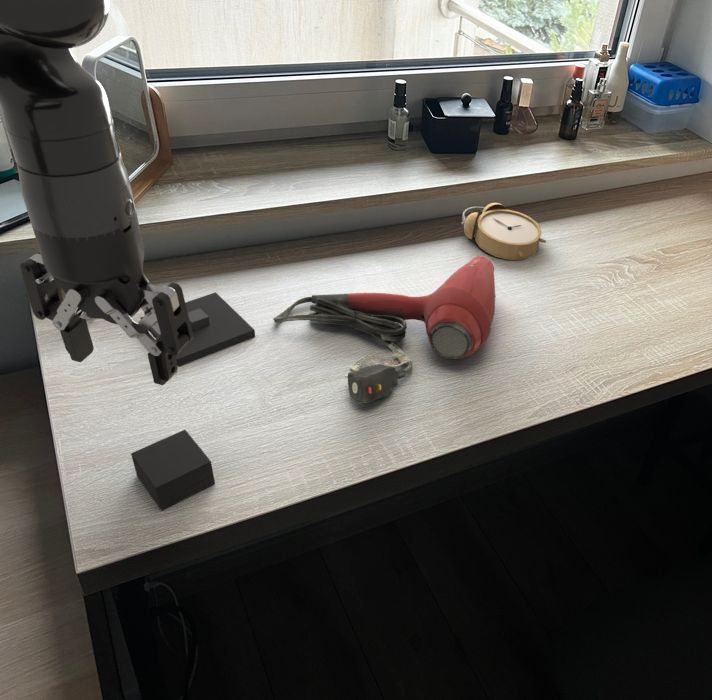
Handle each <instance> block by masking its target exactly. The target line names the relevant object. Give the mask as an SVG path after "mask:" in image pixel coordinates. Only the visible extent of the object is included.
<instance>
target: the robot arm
mask: <svg viewBox="0 0 712 700" xmlns="http://www.w3.org/2000/svg"><path fill="white" fill-rule="evenodd" d="M109 13H110V0H0V112H1V116H2V120H3V124H4V127H5V132H6V135H7V137H8V141H9V144H10V147H11V150H12V153H13V157H14V161H15V164H16V168H17V172H18V179H19V186H20V191H21V195H22V199H23V202H24V206H25V209H26V211H27V215H28V218H29V220H30V221H29V222H30V224H31V228H32V230H33V231H32V232H33V234H34V237H35V241H36V244H37V246H38V250H39V251H38V252H36V253H35V254H34V255H32V256H30V257H29V258H27V259H25V260H24V261H22V262H21V263H20V264H19V268H20V271H21V275H22V278H23V283H24V285H25V289H26V292H27V296H28V300H29V303H30V307H31V311H32V313H33V316H34V317H35V318H37V319H38V320H40V321H44V320H45V319H47V320H50V321H51V322H52V325H53V327H54V328H55V329H57V330H58V331H59V332H60V336H61V339H62V341H63V345H64V348H65V350H66V352H67V353H68V354H69V356H70V359H71V360H72V361H73V362H77V363H82V362H83V361H85V360H86V359H87V358H88V357H89V356H90V355H91V354H92V353H93V352H94V343H93V339H92V336H91V333H90V329H89V326H88V323H87V319H86V318H84V317H82V316H83V315H84V313H85V314H86V317H87V318H90V317H91V318H90V319H95V320H97V319H98V320H99V319H101V320H104V321H107V322H108V323H111V324H113V325H118V327H120V328H121V330H122V331H123V332H124V334H126V335H127V336H128V337H129V338H132V339H137V340H138V341H139V342H140V343H141V345H142V346H143V347H144V348H145V349H146V350H147V351H148V352H147V359H148V362H149V366H150V367H149V368H150V371H151V375H152V379H153V383H154V384H156V385H159V386H165V385H166V384H167V382H169V381H170V380H171V379H172V377H173V376H175V374H177V372H178V370H179V366H178V365H177V361H176V356H175V355H177V354H178V353H179V352H180V350H181V349H182V348H183V347H184V346H185V345H186V344H187V343H188V342H190V341H191V340H192V339H193V333H192V329H191V324H190V320H189V316H188V312H187V308H186V304H185V302H186V300H185V296H184V291H183V288H182V286H181V285H180V284H178V282H174V281H173V282H170V283H169V284H168V285H167V286H160V285H155V284H151V282H150V281H149V279H148V277H147V276H146V275H145V273H144V268H143V267H144V260H145V247H144V242H143V237H142V232H141V227H140V223H139V218H138V213H137V209H136V204H135V199H134V195H133V194H134V193H133V189H132V185H131V181H130V177H129V173H128V171H127V168H126V166H125V164H124V160H123V157H122V154H121V149H120V145H119V141H118V136H117V132H116V127H115V121H114V117H113V112H112V111H113V110H112V107H111V104H110V101H109V98H108V97H109V96H108V94H107V93H106V90H105V88H104V87H103V85H102V83H100V81H99V80H98V79H97V78H96V77H95V76H94V75H93V74H91V73H90V72H89V71H88V70H86V69H85V68H84V67H83V66H82V65H81V64H80V63H79V62H78V61H77V59H76V58H75V55H74V54H73V52H72V50H71V49H75V48H78V47H81V46H84V45H85V44H87V43H89V42H91V41H92V40H94V39H95V38H96V37H97V36H99V34H100V33H101V31H102V30H103V28H104V27H105V26H106V23H107V21H108V18H109ZM62 291H63V292H64V293H65V295H64V297H63V293H62ZM46 297H47V299H46ZM140 309H141V310H142V311H143V313H144V315H143V316H142V317H143V318H142V319H140V320H139V321H138V322H135V320H133V317H134V316H135V315H136V314H137V313H139V311H140ZM150 326H151V327H152V328H153V329H154V330H155V331H156V332H157V333H158V335H159V336H158V337H157V338H156V339H155V338H154V337H153V336H152V335H151V333H150V332H149V330H148V328H149V327H150Z"/></svg>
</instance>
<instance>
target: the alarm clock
mask: <svg viewBox="0 0 712 700" xmlns="http://www.w3.org/2000/svg"><path fill="white" fill-rule="evenodd" d="M479 213H481V214H480V215H479ZM461 219H462V221H461V226H462V227H463V233H464V235H465V237H466V238H468V240H473V238H474V240H475V243H476V245H478V247H479V248H480V249H481V250H483V251H484V252H486V253H487V254H488V255H491V256H494V257H496V258H500V259H503V260H511V261H518V260H519V261H520V260H521V261H522V260H526V259H529V258H531V257H533V256H534V255H535V254H536V253H537V252H538V248H539V243H545V244H546V243H547V240H546V239H545V238H542V233H543V231H542V227H541V226H540V225H539V223H538V222H537V221H536V220H535V219H533V218H532V217H530V216H529V215H526V214H525V213H522V212H520V211H516V210H513V209H512V210H511V209H506V207H505V206H504V205H503V204H501V203H500V202H491V203H489V204H487V205H486V206H485V207H484V206H471V207H470V206H469V207H468V208H466V209H464V210H463V212H462V216H461Z"/></svg>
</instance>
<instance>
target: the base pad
mask: <svg viewBox="0 0 712 700" xmlns="http://www.w3.org/2000/svg"><path fill="white" fill-rule="evenodd" d="M185 304H186V308H187V312H188V316H189V320H190V324H191V329H192V333H193V339H192V340H191V341H190V342H188V343H187V344H186V345H185V346H184V347H183V348H182V349H181V350H180V352H179V353H178V354H177V355H175V356H176V361H177V366H178V367H180V366H184V365H185V364H188V363H190V362H193V361H196V360H198V359H201V358H204V357H206V356H209V355H211V354H215V353H216V352H219V351H222V350H224V349H226V348H229V347H232V346H234V345H237V344H240V343H243V342H244V341H247V340H250V339H253V338H255V337H256V330H255V329H254V327H252V326H251V325H250V324H249V323H248V322H247V321H246V320H245V319H244V318H243V317H242V316H241V314H239V313H238V312H236V310H235V309H234V308H233V307H232V306H231V305H229V303H228V302H226V301H225V300H224V299H223V298H222V297H221V296H220V295H219V293H217V292H212V293H209V294H206V295H203V296H200V297H198V298H193V299H192V300H188V301H185ZM143 317H144V316H141V317H140V320H141V319H142V318H143ZM148 330H149V332H150V333H151V335H152V336H153V337H154V338H155V339H156V338H157V337H158V336H159V335H158V333H157V332H156V331H155V330H154V329H153V328H152V327H151V326H150V327H149V328H148Z"/></svg>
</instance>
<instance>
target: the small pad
mask: <svg viewBox="0 0 712 700" xmlns="http://www.w3.org/2000/svg"><path fill="white" fill-rule="evenodd" d="M130 456H131V459H132V463H133V467H134V469H135V474H136V477H137V479H138V480H139V481H140V483H141V484H142V486H143V487H144V488H145V490H146V491H147V492H148V494H149V495H150V497H151V498H152V499H153V501H154V502H155V504H156V505H157V507H158V508H159V509H160V511H165V510H166V509H168V508H170V507H172V506H174V505H175V504H177V503H180V502H181V501H184V500H185V499H188V498H189V497H191V496H194V495H195V494H198V493H200V492H202V491H203V490H206V489H208V488H211V487H212V486H214V485H215V484H216V480H215V476H214V471H213V466H212V465H213V464H212V461H211V460H210V458H209V457H208V456H207V455H206V453H205V452H204V451H203V450H202V448H201V447H200V445H198V443H197V442H196V441H195V439H194V438H193V437H192V436H191V435H190V434H189V432H188V431H187V430H186V429H183V430H181V431H179V432H176V433H174V434H172V435H169V436H166V437H165V438H162V439H160V440H158V441H156V442H154V443H151V444H149V445H146V446H145V447H143V448H140V449H137V450H136V451H133V452H131V453H130Z"/></svg>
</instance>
